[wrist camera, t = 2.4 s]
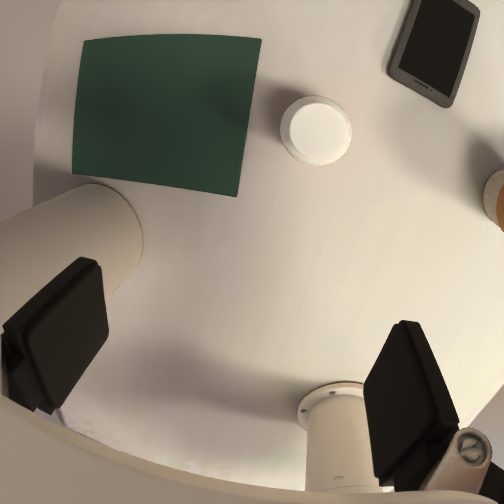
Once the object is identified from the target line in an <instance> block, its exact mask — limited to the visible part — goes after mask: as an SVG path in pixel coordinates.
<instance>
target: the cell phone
mask: <svg viewBox="0 0 504 504" xmlns="http://www.w3.org/2000/svg"><path fill="white" fill-rule="evenodd" d="M479 17H480V10H479V9H478V7H476V6H475V5H474V4H473V3H471V2H470V1H468V0H413V2H412V5H411V8H410V11H409V14H408V17H407V20H406V22H405V25H404V28H403V31H402V33H401V36H400V39H399V42H398V44H397V47H396V50H395V52H394V55H393V58H392V60H391V63H390V66H389V71H388V73H389V75H390V76H391V77H392V78H393V79H394V80H396V81H398V82H400V83H402V84H403V85H405V86H407V87H409V88H411V89H412V90H414V91H416V92H417V93H419V94H421V95H423V96H424V97H426V98H428V99H429V100H431V101H433V102H434V103H436V104H437V105H439V106H441V107H443V108H449V107H451V106H452V104H453V101H454V99H455V97H456V94H457V91H458V88H459V85H460V82H461V79H462V76H463V73H464V70H465V67H466V64H467V61H468V57H469V54H470V51H471V47H472V44H473V40H474V36H475V33H476V29H477V25H478V21H479Z"/></svg>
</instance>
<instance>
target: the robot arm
mask: <svg viewBox="0 0 504 504" xmlns="http://www.w3.org/2000/svg"><path fill="white" fill-rule="evenodd" d="M2 327H3V330H4V332H3V333H2V334H0V504H504V470H503V469H501V468H499V467H498V466H497V465H495V464H494V463H492V462H491V458H492V447H491V444H490V442H489V440H488V439H487V437H486V436H485V435H484V434H483V433H482V432H480V431H479V430H476V429H474V428H469V427H467V428H462V429H460V430H459V427H458V423H459V422H460V421H459V418H458V415H457V413H456V410H455V407H454V404H453V402H452V399H451V396H450V394H449V391H448V389H447V386H446V384H445V381H444V379H443V376H442V374H441V371H440V369H439V366H438V364H437V362H436V359H435V357H434V355H433V352H432V350H431V348H430V345H429V343H428V341H427V339H426V337H425V334H424V332H423V330H422V328H421V326H420V324H419V323H418V322H413V321H406V320H401V321H400V322H399V323H398V324H395V325H394V326H393V327H392V329H391V331H390V334H389V336H388V338H387V340H386V342H385V344H384V346H383V348H382V350H381V352H380V354H379V356H378V358H377V360H376V362H375V364H374V366H373V367H372V369H371V371H370V373H369V375H368V377H367V379H366V380H365V383H364V385H362V384H358V383H336V384H331V385H327V386H324V387H321V388H319V389H316V390H315V391H313V392H311V393H309V394H308V395H307V396H306V397H304V399H303V400H302V401H301V402H300V404H299V406H298V411H297V419H298V422H299V424H300V425H301V427H303V428H304V429H305V430H306V431H307V460H306V483H305V491H296V490H285V489H276V488H268V487H261V486H254V485H248V484H242V483H236V482H230V481H225V480H220V479H215V478H211V477H206V476H202V475H197V474H193V473H189V472H185V471H182V470H178V469H174V468H170V467H167V466H164V465H160V464H157V463H154V462H150V461H147V460H144V459H141V458H138V457H135V456H132V455H129V454H127V453H124V452H121V451H118V450H116V449H113V448H110V447H108V446H105V445H103V444H100V443H98V442H95V441H93V440H90V439H88V438H86V437H83V436H81V435H79V434H77V433H74V432H72V431H70V430H68V429H66V428H63V427H62V426H59V425H57V424H55V423H53V422H51V421H49V420H47V419H45V418H43V417H41V416H39V415H37V414H36V413H34V411H35V409H36V408H37V407H38V409H40V410H42V411H44V412H46V413H48V414H49V415H52V413H53V411H54V410H55V408H56V409H58V408H60V407H61V406H62V404H63V403H64V401H65V400H66V398H67V397H68V395H69V394H70V392H71V391H72V389H73V388H74V386H75V385H76V383H77V382H78V380H79V379H80V377H81V376H82V374H83V373H84V371H85V370H86V368H87V367H88V366H89V364H90V363H91V361H92V360H93V358H94V357H95V356H96V354H97V353H98V351H99V350H100V348H101V347H102V346H103V344H104V343H105V341H106V340H107V338H108V334H109V327H108V320H107V313H106V305H105V296H104V287H103V276H102V268H101V266H100V265H98V262H97V261H96V260H94V259H90V258H86V257H78V258H77V259H76V260H75V261H73V262H72V263H71V264H70V265H69V266H67V267H66V268H65V269H64V270H63V271H62V272H60V273H59V274H58V275H57V276H56V277H54V278H53V279H52V280H51V281H50V282H49V283H48V284H46V285H45V286H44V287H43V288H42V289H41V290H40V291H38V292H37V293H36V294H35V295H34V296H33V297H32V298H31V299H30V300H29V301H27V302H26V303H25V304H24V305H23V306H22V307H21V308H20V309H19V310H18V311H17V312H16V313H15V314H13V315H12V316H11V317H10V318H9V319H8V320H7V321H6V322H5V323H4V324H3V325H2ZM385 486H394V490H395V492H389V493H383V488H382V487H385Z"/></svg>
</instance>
